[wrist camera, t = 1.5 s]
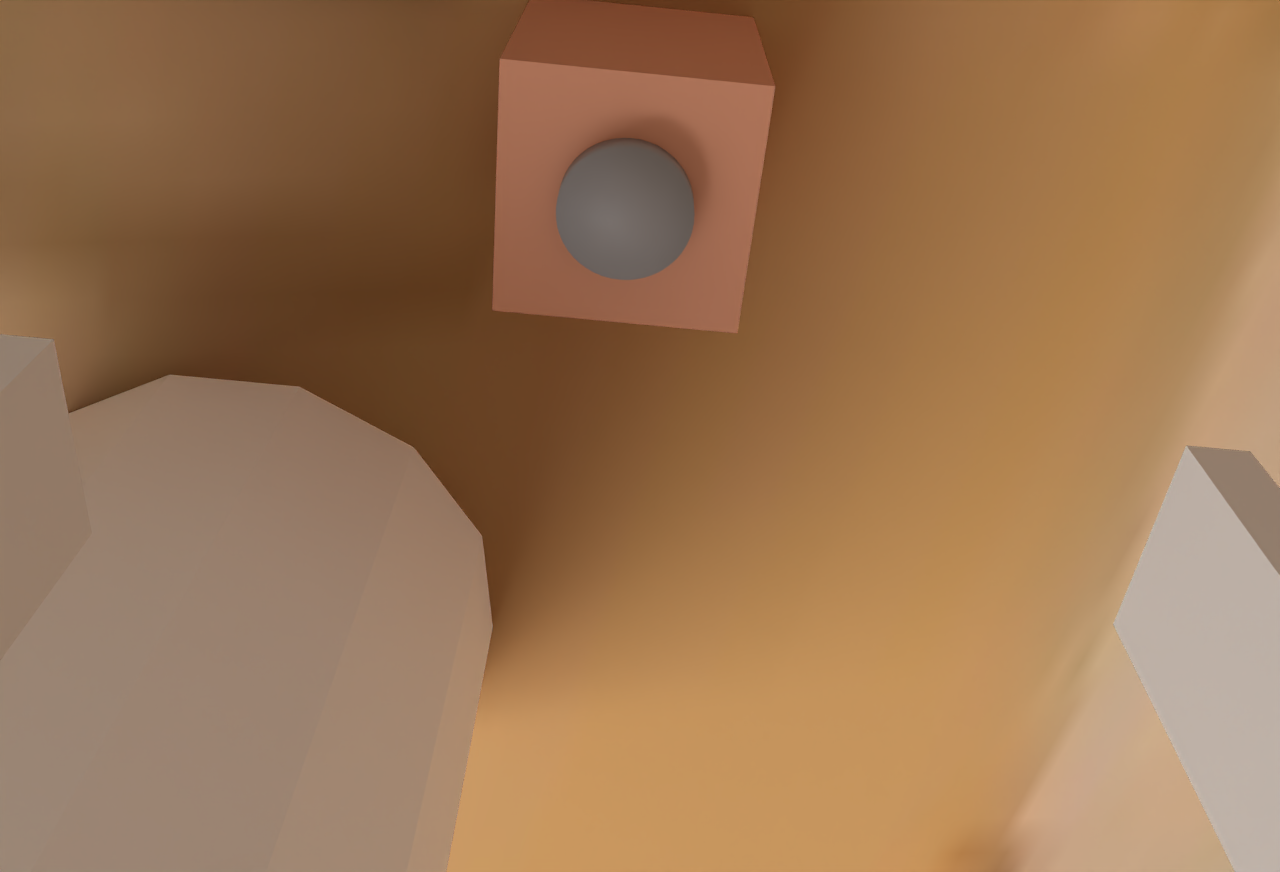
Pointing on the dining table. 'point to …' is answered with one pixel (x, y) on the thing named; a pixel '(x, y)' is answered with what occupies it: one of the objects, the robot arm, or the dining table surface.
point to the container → (246, 647)
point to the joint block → (629, 163)
